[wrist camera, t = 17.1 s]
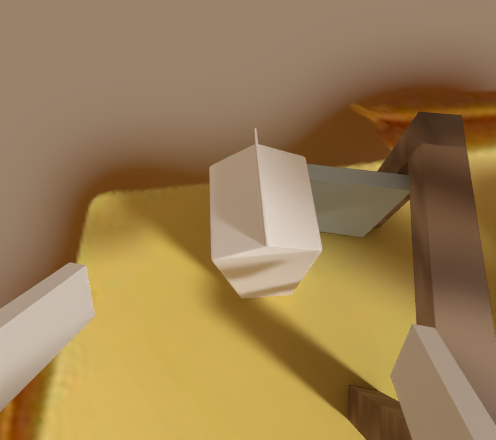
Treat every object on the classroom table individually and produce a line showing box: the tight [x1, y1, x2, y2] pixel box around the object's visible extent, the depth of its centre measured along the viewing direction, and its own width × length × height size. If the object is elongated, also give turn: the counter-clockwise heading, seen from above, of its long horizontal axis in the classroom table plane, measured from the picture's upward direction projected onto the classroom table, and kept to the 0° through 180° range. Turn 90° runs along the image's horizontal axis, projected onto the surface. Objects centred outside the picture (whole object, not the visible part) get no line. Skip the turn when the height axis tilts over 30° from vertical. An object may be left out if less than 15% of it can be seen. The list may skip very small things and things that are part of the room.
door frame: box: [348, 112, 496, 440], centre depth 23 cm, size 24×3×16 cm, turn 170°
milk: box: [209, 128, 322, 299], centre depth 22 cm, size 6×6×22 cm
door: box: [226, 155, 410, 237], centre depth 29 cm, size 16×3×12 cm, turn 80°
